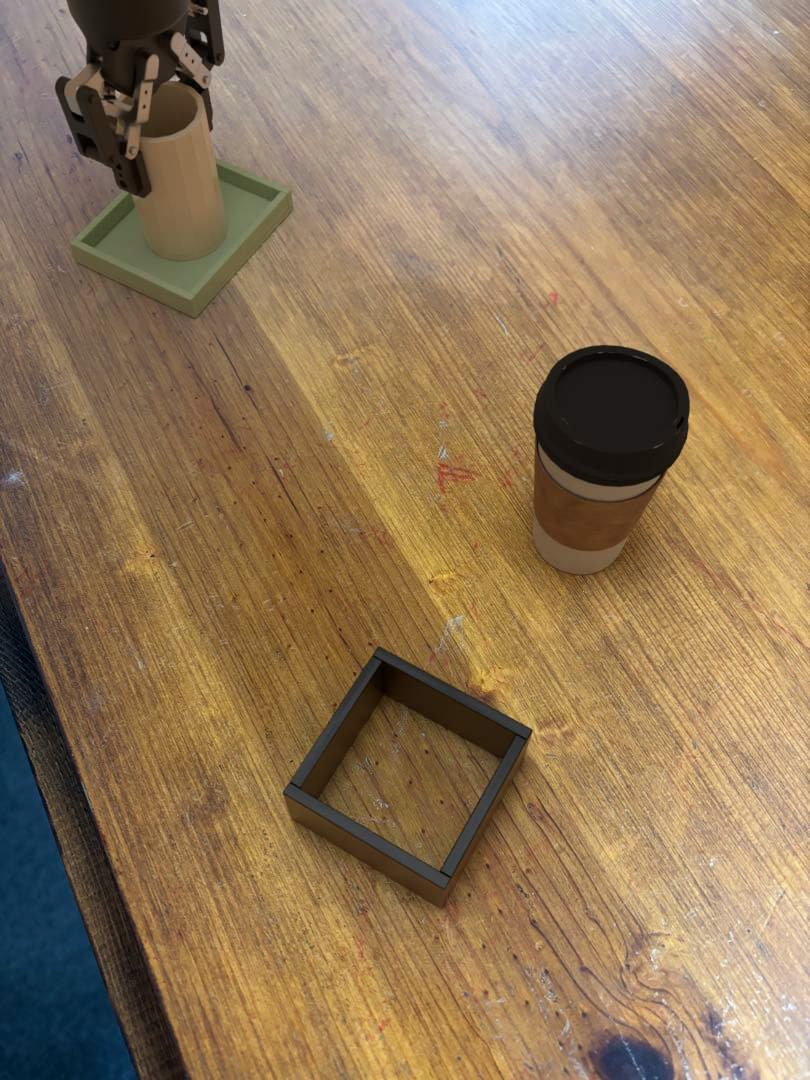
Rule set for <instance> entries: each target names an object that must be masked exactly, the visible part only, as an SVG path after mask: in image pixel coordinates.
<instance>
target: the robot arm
mask: <svg viewBox="0 0 810 1080" xmlns="http://www.w3.org/2000/svg"><path fill="white" fill-rule="evenodd" d="M65 1H66V4H67V8H68V11H69V13H70V15H71V17H72V20H73V21H74V22H75V25H77V27H78V28H79V30H80V31H81V33H82V34H83V37H84V39H85V42H86V53H85V54H86V55H85V63H86V66H85V67H84V68H83V69H82V70H81V71H80V72H79V73H78V74H77V75H76V76H75V77H74V78H73V79H72V78H70V77H68V76H65V75H60V76H59V77H58V78H57V79H56V81H55V83H54V91H55V94H56V96H57V99H58V102H59V104H60V107H61V109H62V112H63V115H64V117H65V120H66V122H67V124H68V125H67V126H68V128H69V130H70V133H71V135H72V137H73V140H74V143H75V146H76V148H77V150H78V153H79V155H81V156H82V157H85V158H87V159H90V160H93V161H96V162H97V163H100V164H102V165H104V166H105V167H107V168H110V169H111V171H112V173H113V177H114V181H115V183H116V186H117V187H118V189H120V190H122V191H123V190H124V191H126V192H128V193H131V194H133V195H135V196H139V197H141V198H145V197H146V196H147V195H148V194H149V193H150V192H151V191H152V189H151V185H150V181H149V178H148V174H147V170H146V166H145V163H144V159H143V155H142V152H141V151H139V142H140V134H141V126H142V125H143V124H145V123H147V122H148V120H149V113H150V105H151V97H152V96H153V95H154V94H155V93H156V91H157V90H158V88H159V87H160V86H161V84H163V83H165V82H167V81H171V79H172V78H174V77H175V78H177V79H179V80H177V82H181V83H183V84H185V85H188V86H190V87H192V88H194V89H195V90H196V91H197V92H198V93H199V94H200V95H201V96H202V98H203V102H204V106H205V111H206V116H207V121H208V126H209V131H210V133H212V132H213V130H214V124H213V117H214V111H213V106H212V101H211V95H210V88H209V87H210V85H211V82H212V73H211V72H212V69H213V68H214V67H215V66H217V67H221V66H222V65H223V63H224V61H225V57H226V51H225V43H224V35H223V27H222V19H221V18H222V17H221V11H220V10H221V9H220V2H219V0H65ZM202 34H204V36H205V37H206V41H205V40H203V39H202ZM116 92H118V93H119V94H120V95H121V94H124V95H126V96H128V97H131V98H133V103H132V106H130V105H127V104H125V103H122V102H120V101H119V100H118V99H117V98H118V97H117V96H116ZM118 119H120V120H122V121H123V123H124V131H123V136H122V135H120V134H117V133H116V130H117V120H118Z"/></svg>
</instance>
